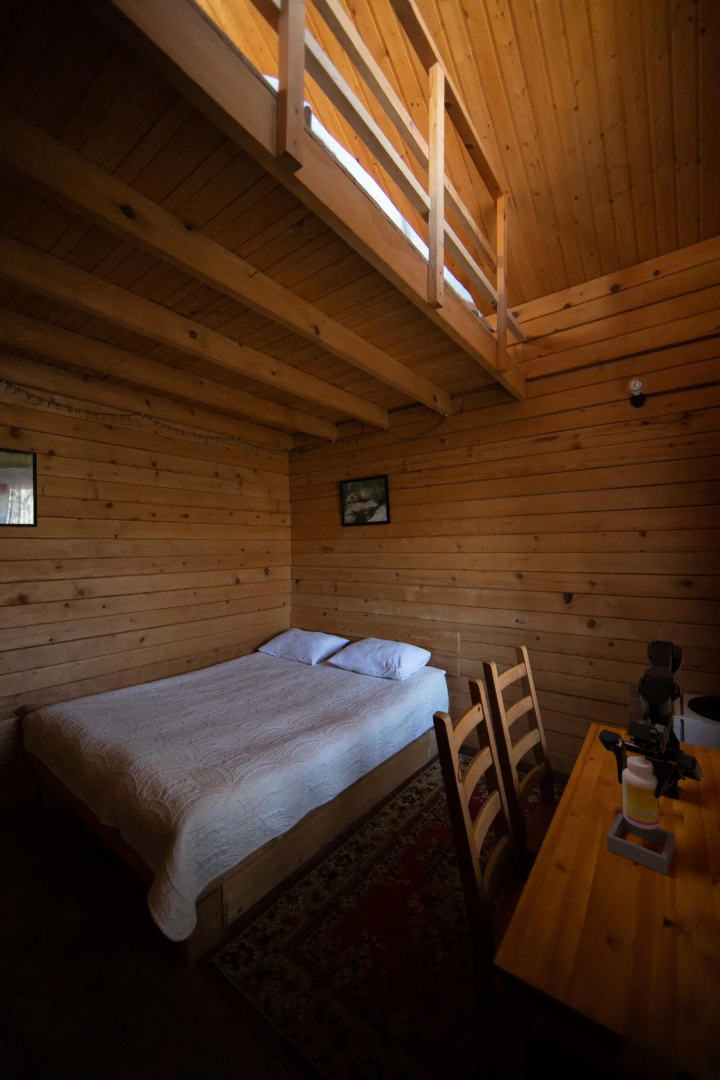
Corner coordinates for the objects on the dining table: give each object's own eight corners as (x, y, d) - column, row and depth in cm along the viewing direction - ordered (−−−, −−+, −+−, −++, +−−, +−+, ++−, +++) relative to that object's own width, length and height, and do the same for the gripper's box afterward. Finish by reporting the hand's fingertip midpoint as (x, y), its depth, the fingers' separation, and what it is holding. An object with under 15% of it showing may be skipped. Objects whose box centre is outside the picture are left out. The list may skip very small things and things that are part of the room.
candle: (623, 744, 141) (623, 683, 141) (645, 743, 141) (644, 682, 142) (640, 756, 133) (640, 691, 133) (663, 755, 134) (662, 690, 134)
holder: (619, 825, 101) (619, 813, 101) (675, 847, 94) (674, 833, 94) (607, 849, 93) (606, 835, 93) (666, 875, 86) (666, 859, 86)
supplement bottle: (665, 832, 90) (664, 771, 90) (630, 829, 91) (629, 768, 91) (650, 813, 96) (649, 755, 96) (618, 809, 98) (616, 752, 98)
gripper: (600, 695, 103) (580, 756, 97) (696, 719, 89) (680, 793, 82) (615, 718, 108) (596, 778, 101) (708, 745, 94) (694, 817, 87)
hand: (637, 790), depth 93 cm, fingers closed on supplement bottle, 7 cm apart
